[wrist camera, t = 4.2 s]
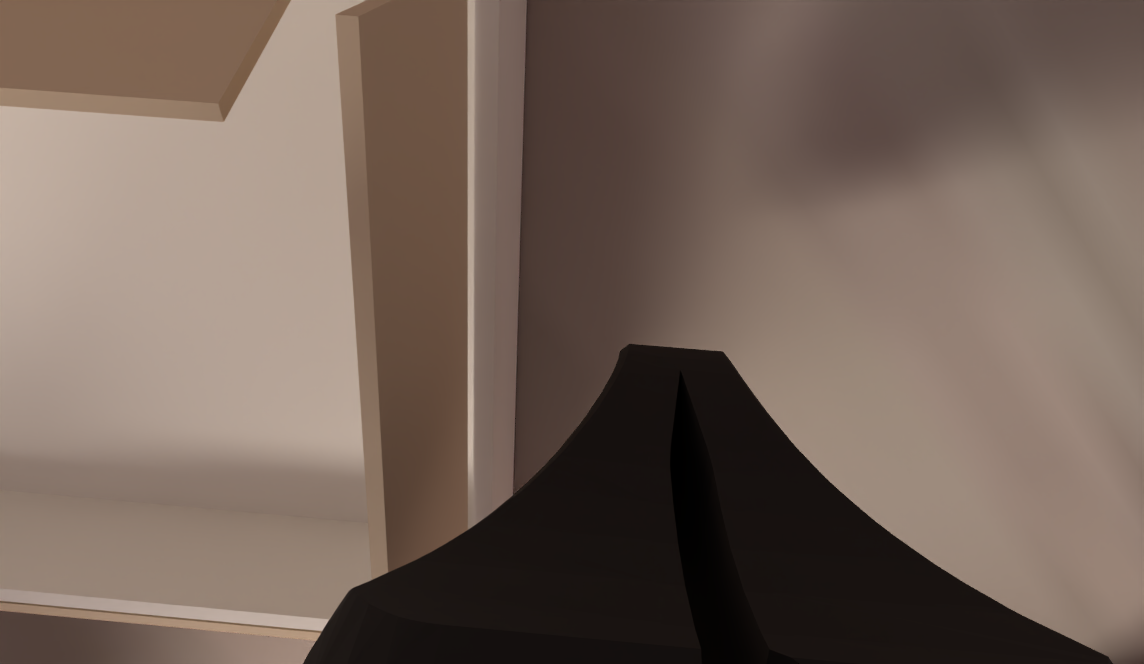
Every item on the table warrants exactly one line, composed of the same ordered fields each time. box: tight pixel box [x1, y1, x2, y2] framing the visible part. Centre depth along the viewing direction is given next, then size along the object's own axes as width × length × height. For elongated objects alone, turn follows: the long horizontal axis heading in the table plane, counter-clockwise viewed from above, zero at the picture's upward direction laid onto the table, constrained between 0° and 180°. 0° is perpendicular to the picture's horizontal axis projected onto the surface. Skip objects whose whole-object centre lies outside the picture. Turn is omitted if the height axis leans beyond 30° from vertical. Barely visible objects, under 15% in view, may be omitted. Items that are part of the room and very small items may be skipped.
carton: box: [0, 0, 527, 641], centre depth 15 cm, size 14×12×3 cm
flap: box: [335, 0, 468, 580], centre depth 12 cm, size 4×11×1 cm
